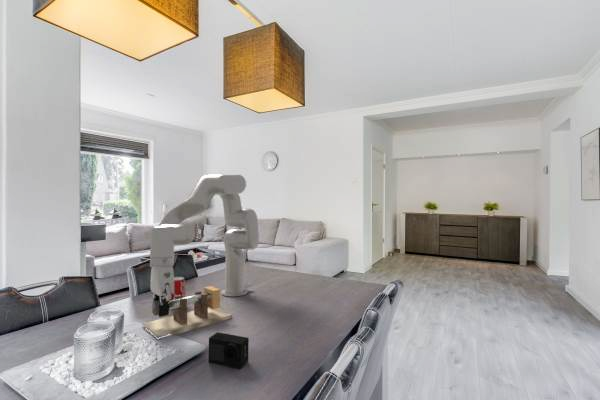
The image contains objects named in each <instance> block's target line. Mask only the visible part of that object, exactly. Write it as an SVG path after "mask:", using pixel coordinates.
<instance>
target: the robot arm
mask: <svg viewBox="0 0 600 400" xmlns="http://www.w3.org/2000/svg"><path fill="white" fill-rule="evenodd" d="M246 188H247V180H246V179H245V177H244V175H242V174H206V175H203V176H201V177H200V178H199V180H198V181H197V183H196V184H195V185H194V187H193V189H192V190H191V191H190V194H189V195H188V197H187V198H186V199H185V200H184V201H183V202H181V203H179V204H178V205H176V206H175V207H173V208H171V210H169V211H168V212H167V213H166V214H165V216H164V217H163V218H162V219H161V221H160V223H159V224H158V225H155V226H152V228H151V230H150V243H149V244H150V251H149V267H150V268H151V269H150V286H149V287H150V291H151V292H152V303H153V302H154V301H158V300H160V305H159V315H158V317H159V318H162V317H163V318H164V317H168V316H169V314H170V310H169V303H170V302H169V301H170V299H171V294H174V277H175V273H174V265H175V264H174V262H175V260H174V259H175V258H174V257H175V256H174V255H175V246H176V245H177V246H179V245H180V246H185V245H189V244H190V243H192V242H193V241H194V239H195V236H196V232H195V231H196V230H195V229H194V228H193V227H192V226H191V225H188V224H184V223H182V222H183V221H186V220H187V219H189V218H192V217H195V216H198V215H200V214H202V213H203V214H204V213H205V211H206V210H207V209H208V206H209V205H210V204H211V202H212V200H213V198H214V197H215V196H216V195H217V196H219V197H220V198H221V200H222V206H223V215H224V222H225V225H226V226H227V227H229V228H231V229H229V230H227V231H226V232H225V233H224V236H223V244H224V250H225V252H224V254H225V263H224V264H225V266H224V267H225V268H224V269H225V271H224V289H222V290H220V295H222V296H225V297H242V296H245V295H247V293H248V288H251V287H253V282H248V283H247V282H245V274H246V272H245V271H246V270H245V269H246V256H245V252H244V251H243V250H249V251H250V250H251V251H252V250H255V249H257V247H259V242H260V235H259V222H258V221H259V220H258V216H257V213H256V211H255V210H254V209H252V208H243V207H242V201H241V196H240V194H241V193H243V192H244V191H245V189H246ZM232 228H233V229H232ZM234 228H235V229H234ZM237 228H239V229H237Z"/></svg>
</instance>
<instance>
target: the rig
mask: <svg viewBox="0 0 600 400" xmlns="http://www.w3.org/2000/svg"><path fill="white" fill-rule="evenodd" d="M202 292H203V291H201V290H197V291H195V293H194V294H195V295H199V294H201V302H200V303H196V304H193V308H194V309H193V310H191V311H188V309H187V307H188V305H187V298H182V299H180V298H181V295H177V296H175V299H180V307H179V308H174V309H173V315H172V316H166V317H163V318H159V319H155V320H152V321H148V322H147V321H146V322H142V326H143V325H144V326H145V327H146V328H147V329H148V330H150V331H151V332H152V333H153V334H154V335H155V336H156V337H157V338H159V337H162V336H166V335H168V334H171V335H172V336H174V335H175V336H177V335H178V334H182V333H185V332H189V331H192V330H195V329H200V328H203V327H206V326H210V325H212V324H215V323H219V322H222V321H223V322H224V321H227V320H230V319H233V314H231V313H229V312H228V311H225V310H223V309H222V308H216V309H211V308H209V307H208V304H207V294H206V293H205V294H204V293H202Z"/></svg>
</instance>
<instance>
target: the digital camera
mask: <svg viewBox="0 0 600 400" xmlns="http://www.w3.org/2000/svg"><path fill="white" fill-rule="evenodd" d="M249 343H250V342H249V337H246V336H240V335H237V334H236V335H235V334H231V333H223V332H218V331H217V332H215V333H214V334H213V335H211V336H210V337H209V338H208V363H209V364H213V365H218V366H222V367H227V368H231V369H236V370H242V369H243V368H244V367H245V366H246V364H248V363H249Z"/></svg>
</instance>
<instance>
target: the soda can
mask: <svg viewBox="0 0 600 400" xmlns="http://www.w3.org/2000/svg"><path fill="white" fill-rule="evenodd" d="M177 295H181V298H185V297H186V280H185V277H183V276H174V294H171V299H170V301H171V300H175V296H177Z"/></svg>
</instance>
